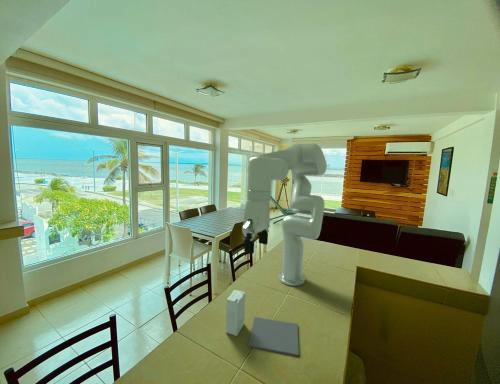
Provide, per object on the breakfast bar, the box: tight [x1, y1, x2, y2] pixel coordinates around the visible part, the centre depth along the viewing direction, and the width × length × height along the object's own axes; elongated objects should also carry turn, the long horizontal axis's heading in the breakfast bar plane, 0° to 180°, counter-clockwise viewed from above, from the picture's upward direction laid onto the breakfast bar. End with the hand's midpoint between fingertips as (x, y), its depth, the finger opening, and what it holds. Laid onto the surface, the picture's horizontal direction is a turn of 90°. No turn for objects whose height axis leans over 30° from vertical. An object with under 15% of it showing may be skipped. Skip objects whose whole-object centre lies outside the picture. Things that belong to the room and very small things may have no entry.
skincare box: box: [225, 289, 246, 337], centre depth 69 cm, size 6×4×12 cm
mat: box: [247, 316, 300, 357], centre depth 68 cm, size 12×15×1 cm
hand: (256, 247), depth 69 cm, fingers open, 9 cm apart
